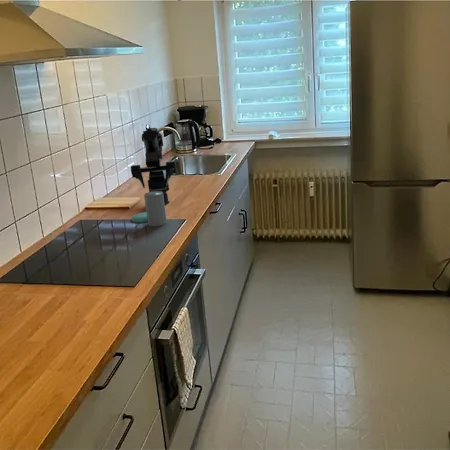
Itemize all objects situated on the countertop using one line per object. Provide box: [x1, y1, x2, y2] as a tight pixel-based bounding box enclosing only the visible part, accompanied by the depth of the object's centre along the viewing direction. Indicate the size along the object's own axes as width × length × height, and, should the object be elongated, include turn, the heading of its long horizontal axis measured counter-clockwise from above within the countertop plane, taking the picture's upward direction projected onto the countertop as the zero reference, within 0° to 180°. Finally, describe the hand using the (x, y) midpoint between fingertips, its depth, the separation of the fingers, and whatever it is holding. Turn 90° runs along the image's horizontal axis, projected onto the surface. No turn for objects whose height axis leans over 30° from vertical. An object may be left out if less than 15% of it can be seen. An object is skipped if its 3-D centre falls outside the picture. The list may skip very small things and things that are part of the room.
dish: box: [130, 211, 148, 224], centre depth 216 cm, size 11×11×1 cm
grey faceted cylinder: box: [143, 191, 168, 227], centre depth 206 cm, size 7×7×12 cm
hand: (155, 186), depth 211 cm, fingers open, 9 cm apart
